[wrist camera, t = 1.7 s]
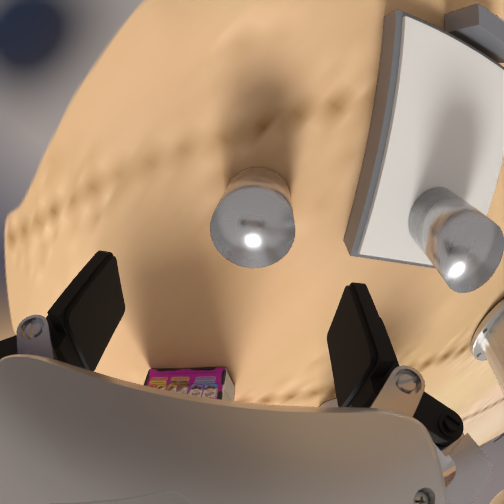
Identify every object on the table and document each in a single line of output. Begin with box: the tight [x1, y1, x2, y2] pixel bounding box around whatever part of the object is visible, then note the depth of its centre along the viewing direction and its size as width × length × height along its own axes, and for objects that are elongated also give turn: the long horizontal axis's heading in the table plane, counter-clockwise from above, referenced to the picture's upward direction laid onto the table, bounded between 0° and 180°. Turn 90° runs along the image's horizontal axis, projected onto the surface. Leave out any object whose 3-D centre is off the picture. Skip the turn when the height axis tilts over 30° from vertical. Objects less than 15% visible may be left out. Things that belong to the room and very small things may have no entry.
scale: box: [344, 4, 504, 268], centre depth 15 cm, size 12×22×5 cm, turn 174°
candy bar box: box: [144, 367, 235, 401], centre depth 27 cm, size 11×5×16 cm, turn 104°
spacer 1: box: [210, 167, 295, 268], centre depth 19 cm, size 5×5×6 cm
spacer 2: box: [408, 187, 504, 293], centre depth 16 cm, size 5×5×6 cm
